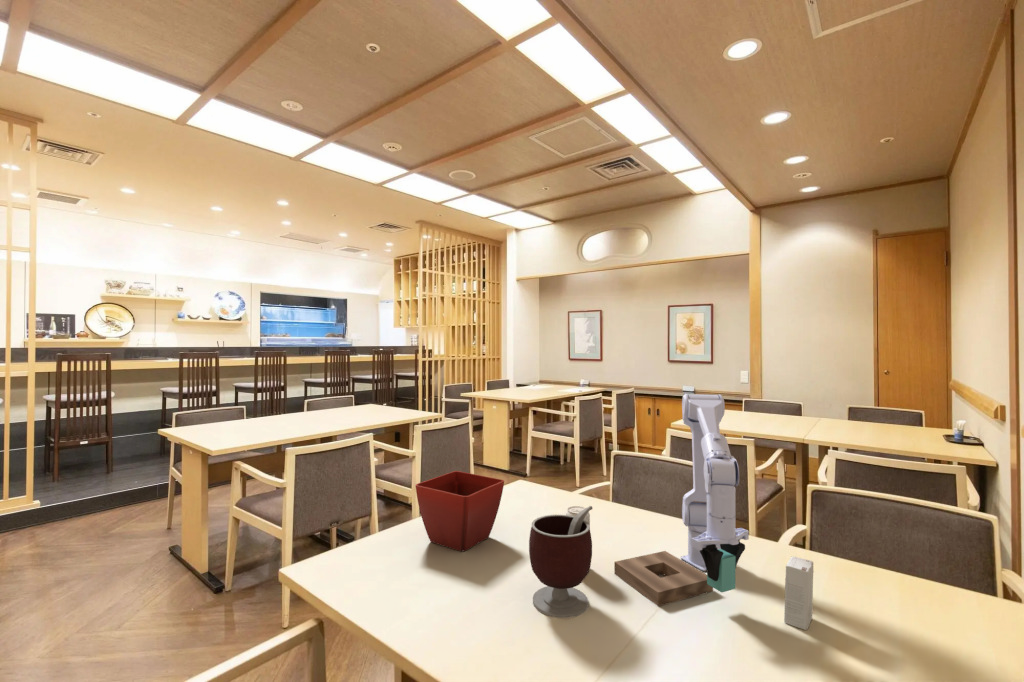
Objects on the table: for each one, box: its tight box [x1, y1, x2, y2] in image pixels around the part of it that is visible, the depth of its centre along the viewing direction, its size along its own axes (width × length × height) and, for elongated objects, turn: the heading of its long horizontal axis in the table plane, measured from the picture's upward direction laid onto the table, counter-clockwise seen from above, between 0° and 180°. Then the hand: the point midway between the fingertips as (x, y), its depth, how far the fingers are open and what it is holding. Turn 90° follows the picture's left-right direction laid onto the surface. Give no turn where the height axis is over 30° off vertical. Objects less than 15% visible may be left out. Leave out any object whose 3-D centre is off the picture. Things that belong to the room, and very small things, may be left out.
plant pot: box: [415, 470, 505, 552], centre depth 140 cm, size 19×19×17 cm
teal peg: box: [706, 549, 736, 594], centre depth 104 cm, size 4×4×7 cm
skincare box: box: [783, 556, 814, 631], centre depth 99 cm, size 6×4×12 cm
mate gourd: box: [528, 505, 593, 619], centre depth 106 cm, size 16×14×20 cm
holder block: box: [613, 550, 714, 607], centre depth 115 cm, size 16×16×3 cm
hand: (720, 576), depth 104 cm, fingers closed on teal peg, 4 cm apart
